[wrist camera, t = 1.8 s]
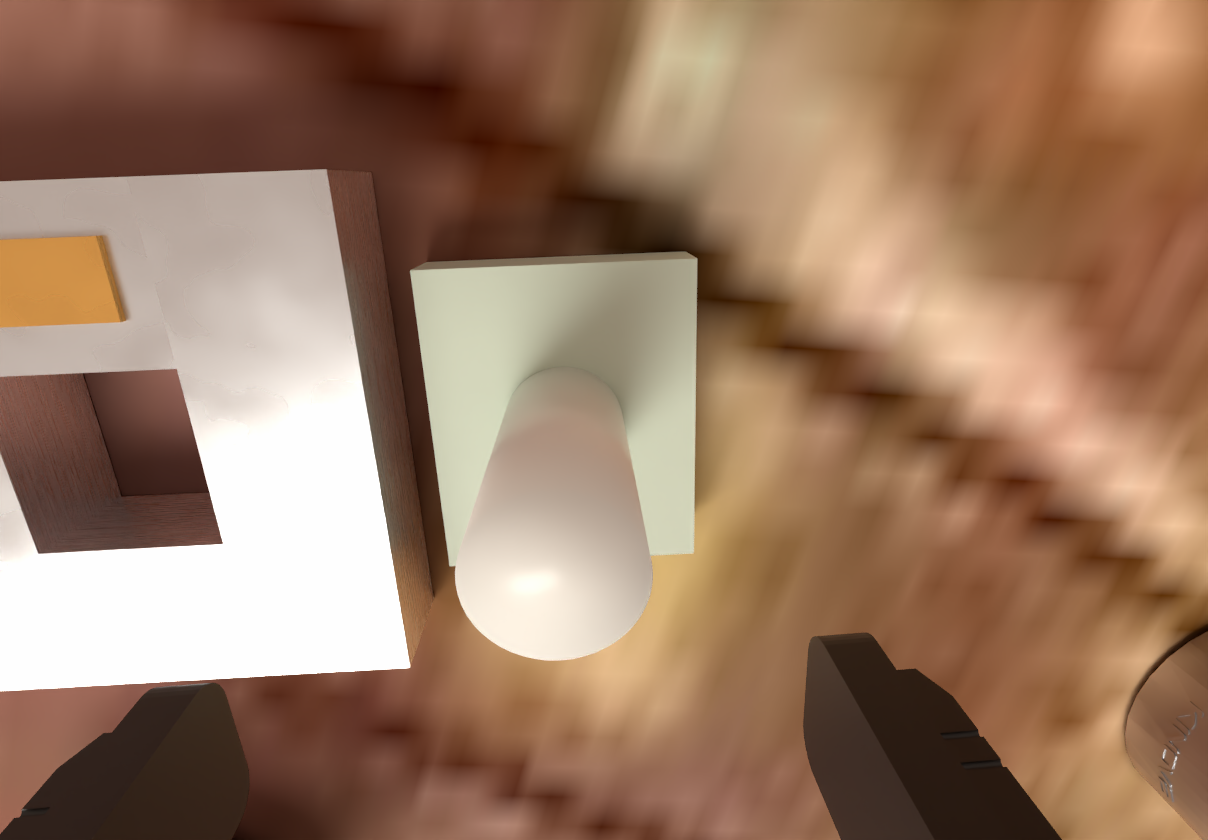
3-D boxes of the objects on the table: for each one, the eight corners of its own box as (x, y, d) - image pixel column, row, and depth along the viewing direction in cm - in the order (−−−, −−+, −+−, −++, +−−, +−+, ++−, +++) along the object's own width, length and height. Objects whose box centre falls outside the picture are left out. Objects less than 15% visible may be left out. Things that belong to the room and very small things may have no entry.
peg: (621, 364, 18) (652, 485, 11) (624, 475, 19) (653, 655, 12) (499, 369, 18) (444, 494, 11) (509, 480, 19) (465, 665, 12)
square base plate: (685, 251, 19) (697, 258, 17) (683, 522, 22) (693, 553, 20) (426, 261, 19) (410, 270, 17) (460, 533, 22) (449, 566, 20)
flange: (371, 172, 18) (323, 168, 15) (433, 598, 23) (408, 672, 20) (-146, 191, 18) (-320, 193, 14) (26, 620, 23) (-74, 699, 19)
